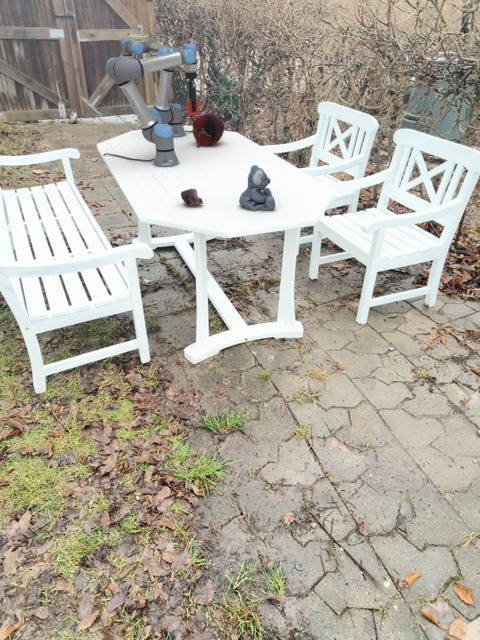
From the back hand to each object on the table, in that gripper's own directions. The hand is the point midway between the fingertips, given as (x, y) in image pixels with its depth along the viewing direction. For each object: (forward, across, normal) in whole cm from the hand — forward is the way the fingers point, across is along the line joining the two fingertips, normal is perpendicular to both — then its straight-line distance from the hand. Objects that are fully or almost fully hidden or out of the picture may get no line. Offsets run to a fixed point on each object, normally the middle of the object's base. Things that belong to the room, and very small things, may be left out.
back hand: (132, 92), depth 357 cm
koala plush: (+29, -196, -33) cm, 201 cm away
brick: (+4, -81, -30) cm, 87 cm away
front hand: (+2, -81, -30) cm, 87 cm away
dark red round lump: (+29, -61, -45) cm, 81 cm away
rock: (+29, -183, -2) cm, 186 cm away
